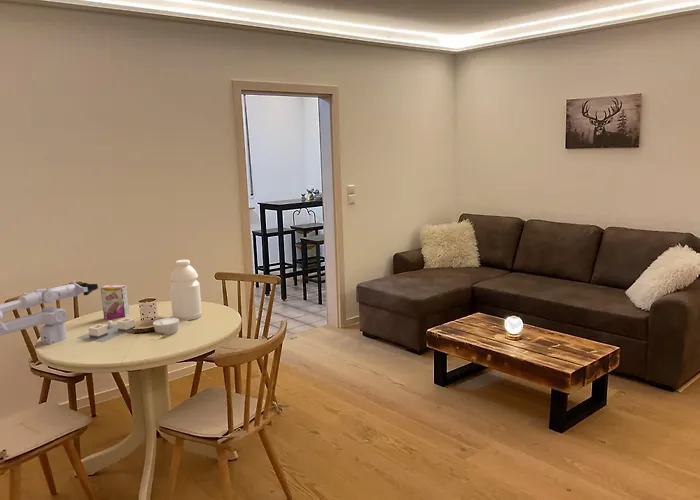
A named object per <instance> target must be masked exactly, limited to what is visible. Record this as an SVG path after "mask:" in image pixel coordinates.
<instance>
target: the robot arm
mask: <svg viewBox="0 0 700 500" xmlns="http://www.w3.org/2000/svg"><path fill="white" fill-rule="evenodd" d="M98 287H99V286H98V283H88V282H82V283H76V281H75V280H70V282H68V283H67V284H64V285H63V284H62V285H58V286H53V287H50V288H37V289H35V290H34V291H33V292H29V293H28V292H24V293H23V294H22V295H20V296H19V297H18V298H17V299H16V300H12V301H8V302H4V303H1V304H0V337H2V336H5V335H6V336H7V335H9V334H12V333H16V332H18V331H19V332H20V331H23V330H26V329H29V328H33V327H37V326H40V325H43V326H41V327H40V328H39V336H40V343H42V344H45V345H46V344H48V345H53V344H55V343H58V342H61V341H64V340H66V339H67V333H66V325H65V322H66V319H67V316H68V314H67V311H66V310H65V309H64V308H58V307H53V306H50V305H48V306H45V307H43V308H42V309H41V310H38V311H37V312H35V313H31V314H28V315H24V316H21V317H17V318H12V319H10V320H5V321H1V320H2V319H3V316H4V314H7V313H10V312H12V311H14V310H15V311H16V310H18V309H20V308H21V309H23V310H26V309H31V308H33V307H36V306H39V305H41V304H43V303H44V304H51V303H53V301H59V300H64V299H69V298H75V297H78V296H80V295H81V294H83V296H89V295H90V294H91V293H92V292H94V291H95V290H97V289H99V288H98Z"/></svg>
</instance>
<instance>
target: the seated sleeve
mask: <svg viewBox="0 0 700 500" xmlns="http://www.w3.org/2000/svg"><path fill="white" fill-rule="evenodd" d="M116 325H117V327H118V331H122V332H127V333H129V332H132V331H133V330H132V329H133V328H135V327H136V324H135V319H134V318H129V317H123V318H122V319H119V320H117V321H116ZM131 330H132V331H131ZM128 331H129V332H128Z"/></svg>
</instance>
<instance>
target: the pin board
mask: <svg viewBox="0 0 700 500" xmlns="http://www.w3.org/2000/svg"><path fill="white" fill-rule="evenodd" d="M107 331H108V335H107V336H104V337H102V338H99V339H96V338H90V336H89V332H88V333H86V334H83V335H80V336H78V337H76V339H80V340H87V341H91V342H92V341H93V342H99V343H105V342H107V341H109V340H112V339H115V338H117V337H119V336H121V335H124V334H127V333H129V332H132V331H133V330H131V331H128V332H122V331H118V327H117V324H113V320H107Z"/></svg>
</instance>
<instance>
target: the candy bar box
mask: <svg viewBox="0 0 700 500" xmlns="http://www.w3.org/2000/svg"><path fill="white" fill-rule="evenodd" d="M127 287H128V286H127V285H125V284H123V285H119V284H118V285H108V284H107V285H103V286H101V287H100V293H101V302H102V311H103V319H104V320H108V321H112V320H114V319H115V318H127V317H128V316H129V315H130V314H131V313H130V306H129V297H128V288H127Z"/></svg>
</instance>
